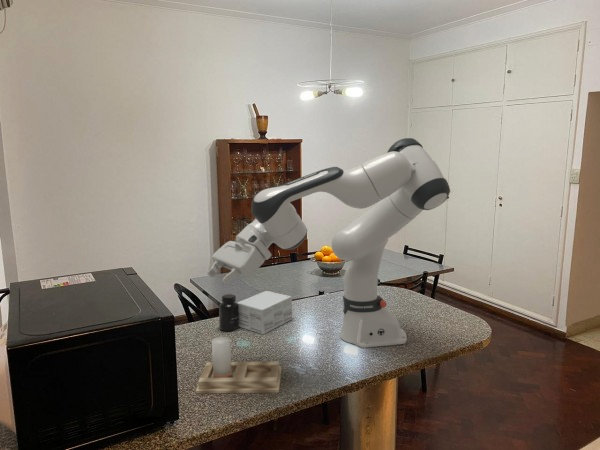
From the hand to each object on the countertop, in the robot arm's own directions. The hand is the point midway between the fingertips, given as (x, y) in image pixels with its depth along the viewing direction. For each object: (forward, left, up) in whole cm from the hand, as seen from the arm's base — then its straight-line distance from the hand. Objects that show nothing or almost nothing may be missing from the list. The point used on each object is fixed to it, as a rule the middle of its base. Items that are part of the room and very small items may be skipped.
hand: (216, 278), depth 121 cm
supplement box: (-9, -40, -29) cm, 50 cm away
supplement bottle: (+4, -35, -29) cm, 46 cm away
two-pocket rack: (-6, +2, -29) cm, 30 cm away
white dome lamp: (-1, +2, -28) cm, 28 cm away
